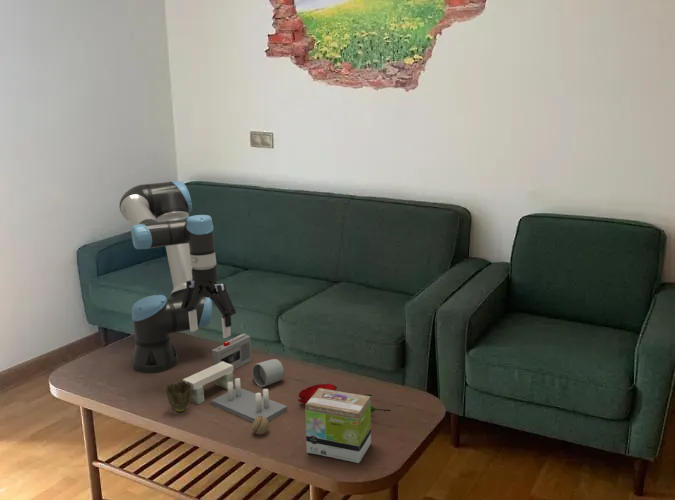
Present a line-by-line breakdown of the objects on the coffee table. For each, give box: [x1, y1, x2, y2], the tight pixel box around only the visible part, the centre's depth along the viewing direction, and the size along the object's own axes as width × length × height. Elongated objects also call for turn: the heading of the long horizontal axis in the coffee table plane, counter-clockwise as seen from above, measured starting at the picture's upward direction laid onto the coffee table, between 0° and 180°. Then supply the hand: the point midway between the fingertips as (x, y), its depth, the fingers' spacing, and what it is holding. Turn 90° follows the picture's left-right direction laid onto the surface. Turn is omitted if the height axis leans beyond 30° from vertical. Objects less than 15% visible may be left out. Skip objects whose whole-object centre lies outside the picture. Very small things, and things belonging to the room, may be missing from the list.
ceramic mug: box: [251, 358, 286, 388], centre depth 223 cm, size 11×8×8 cm
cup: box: [165, 380, 192, 414], centre depth 206 cm, size 8×7×8 cm
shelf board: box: [182, 361, 235, 390], centre depth 216 cm, size 16×5×2 cm, turn 141°
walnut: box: [251, 416, 270, 435], centre depth 193 cm, size 5×5×5 cm
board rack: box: [190, 371, 235, 405], centre depth 217 cm, size 6×14×5 cm, turn 140°
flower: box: [297, 383, 391, 414], centre depth 201 cm, size 9×9×30 cm
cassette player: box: [211, 333, 253, 370], centre depth 234 cm, size 16×3×10 cm, turn 144°
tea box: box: [304, 388, 372, 464], centre depth 182 cm, size 15×10×15 cm
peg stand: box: [210, 377, 288, 424], centre depth 206 cm, size 21×11×7 cm, turn 51°
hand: (210, 333), depth 214 cm, fingers open, 13 cm apart
